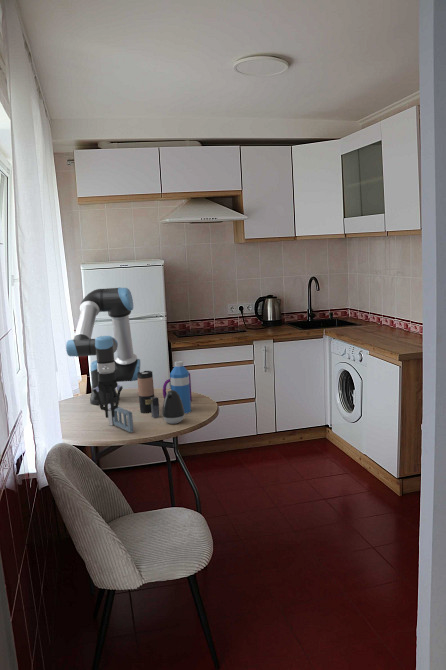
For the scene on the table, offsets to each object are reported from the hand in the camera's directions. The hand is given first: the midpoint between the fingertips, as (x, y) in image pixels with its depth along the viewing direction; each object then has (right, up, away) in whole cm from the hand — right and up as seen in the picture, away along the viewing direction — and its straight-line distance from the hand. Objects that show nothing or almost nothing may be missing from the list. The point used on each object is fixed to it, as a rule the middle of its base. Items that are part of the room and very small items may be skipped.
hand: (110, 424), depth 248 cm
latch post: (+16, 0, +24) cm, 29 cm away
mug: (+25, +4, +49) cm, 56 cm away
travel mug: (+12, +1, +35) cm, 37 cm away
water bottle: (+29, +1, +31) cm, 43 cm away
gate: (+4, -3, +6) cm, 8 cm away
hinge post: (-2, -2, +15) cm, 15 cm away
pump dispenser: (+27, -1, +14) cm, 30 cm away
